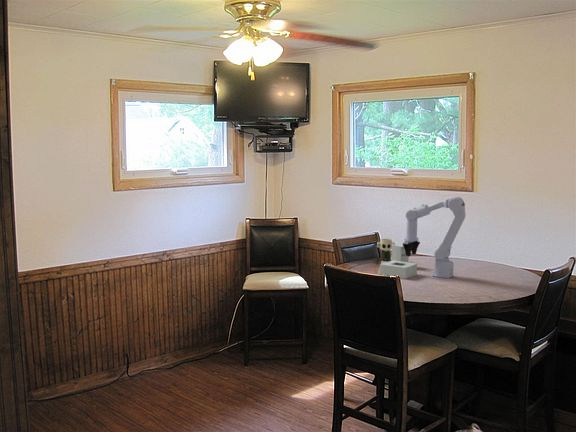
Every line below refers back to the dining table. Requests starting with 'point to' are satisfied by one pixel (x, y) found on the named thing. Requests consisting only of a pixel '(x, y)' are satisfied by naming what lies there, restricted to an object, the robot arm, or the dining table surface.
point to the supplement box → (399, 253)
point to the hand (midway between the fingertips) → (411, 255)
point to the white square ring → (399, 269)
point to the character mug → (385, 248)
